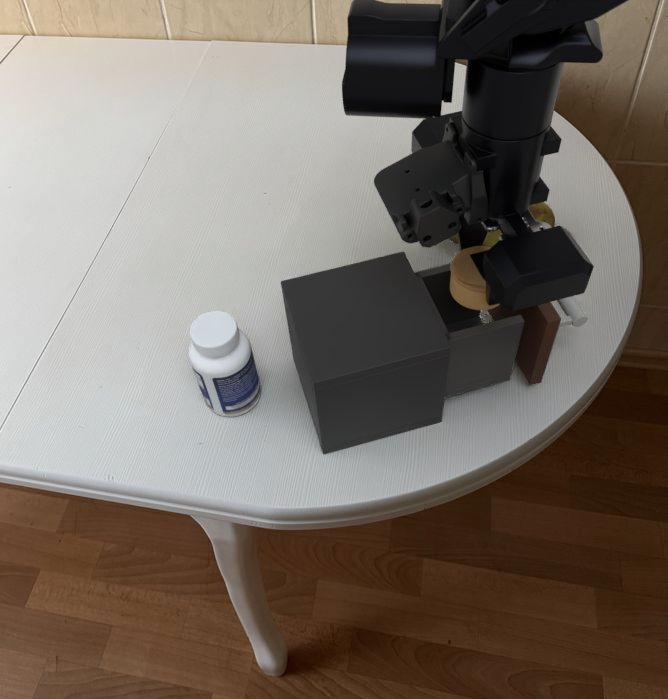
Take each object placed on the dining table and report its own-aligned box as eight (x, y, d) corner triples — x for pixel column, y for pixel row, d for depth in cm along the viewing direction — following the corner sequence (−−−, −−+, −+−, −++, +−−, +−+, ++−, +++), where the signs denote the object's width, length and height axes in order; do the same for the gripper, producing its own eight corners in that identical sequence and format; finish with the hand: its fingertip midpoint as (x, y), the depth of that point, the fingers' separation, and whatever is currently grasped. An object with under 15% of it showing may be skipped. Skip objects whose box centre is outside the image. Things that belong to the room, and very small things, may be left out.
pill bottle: (270, 378, 67) (256, 311, 59) (248, 425, 64) (229, 361, 56) (219, 365, 68) (198, 298, 60) (194, 410, 65) (169, 345, 57)
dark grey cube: (401, 330, 69) (404, 250, 61) (441, 422, 63) (451, 347, 54) (293, 358, 68) (280, 280, 59) (323, 454, 61) (313, 383, 53)
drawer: (537, 294, 70) (555, 227, 63) (585, 370, 64) (610, 305, 57) (403, 328, 68) (406, 263, 61) (440, 410, 62) (447, 348, 55)
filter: (519, 281, 59) (524, 259, 57) (492, 320, 56) (496, 299, 54) (465, 259, 60) (468, 237, 59) (437, 296, 58) (439, 275, 56)
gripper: (345, 64, 50) (353, 228, 62) (441, 238, 39) (427, 396, 51) (492, 34, 51) (471, 200, 64) (625, 193, 40) (568, 357, 52)
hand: (480, 280), depth 58 cm, fingers closed on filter, 5 cm apart
